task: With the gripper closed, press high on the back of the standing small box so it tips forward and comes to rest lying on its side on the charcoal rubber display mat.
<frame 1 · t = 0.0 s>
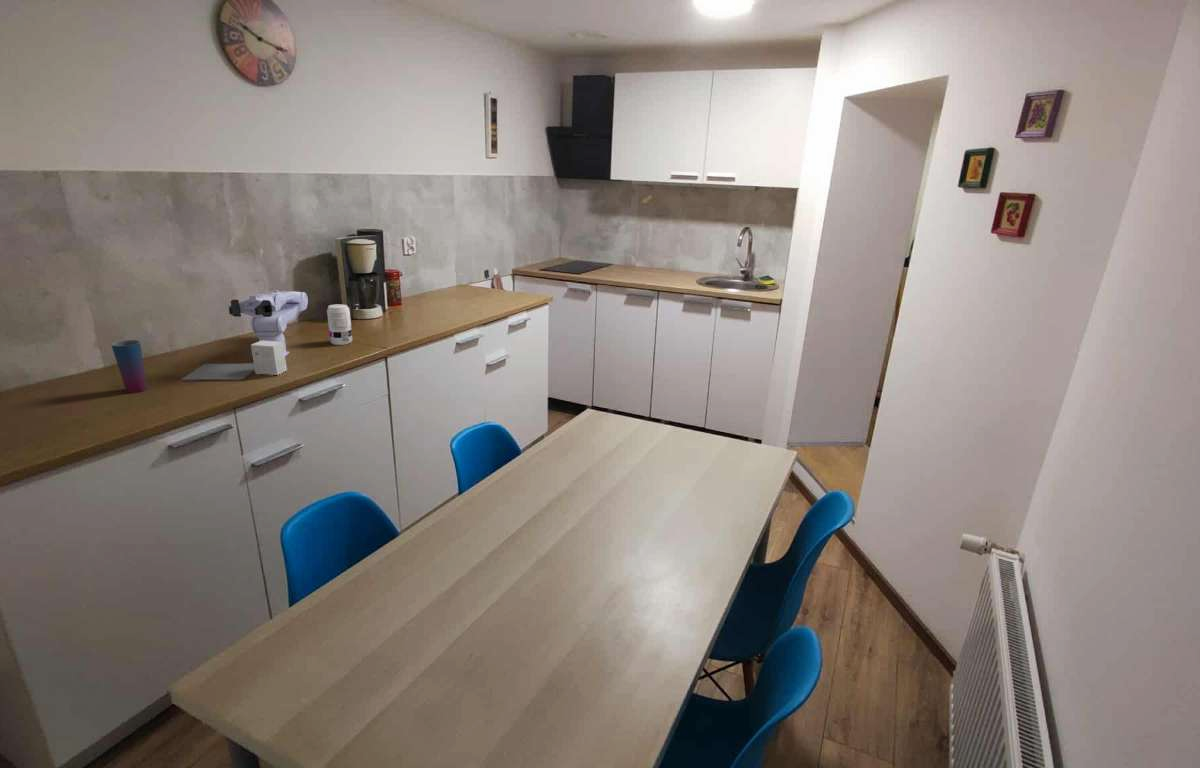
hand: (243, 311, 191), 22 cm above the table, tool horizontal, fingers open, 7 cm apart
display mat: (223, 372, 198), on the table
small box: (271, 373, 201), on the table
cup: (136, 390, 180), on the table
supplement can: (341, 343, 237), on the table
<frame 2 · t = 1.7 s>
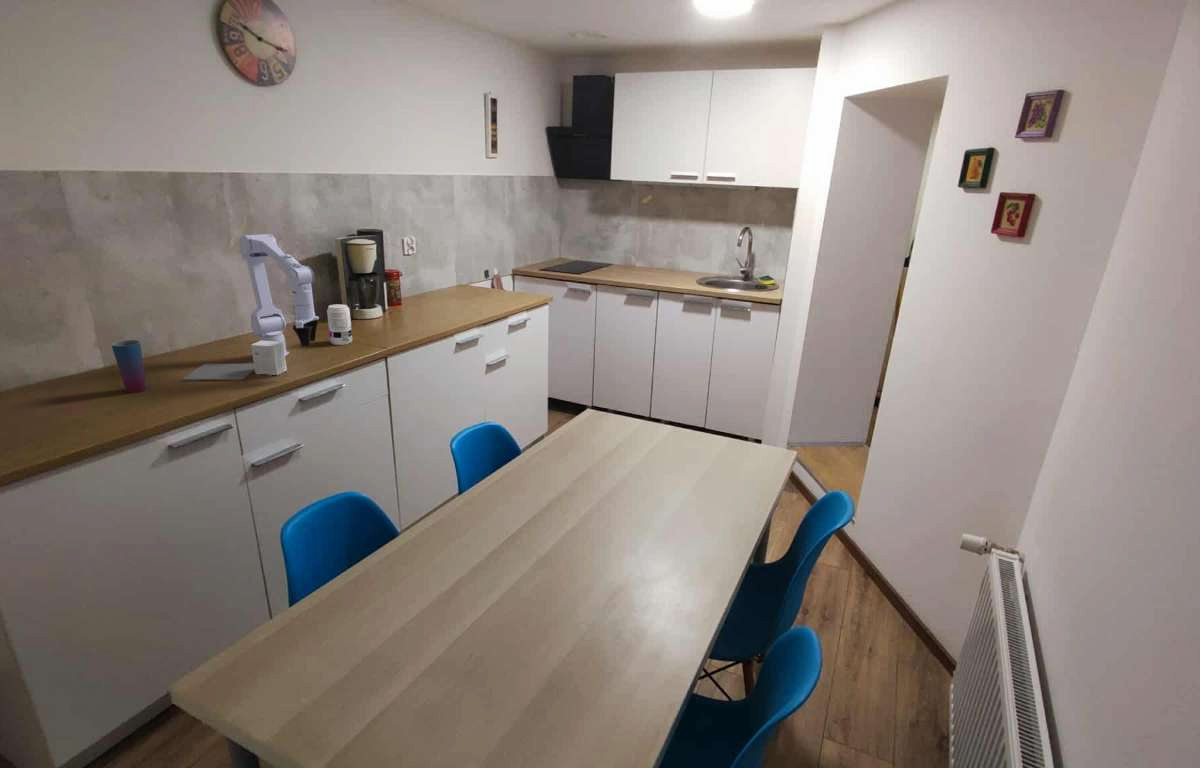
hand: (308, 343, 199), 10 cm above the table, tool pointing down, fingers open, 6 cm apart
nothing on the table moved.
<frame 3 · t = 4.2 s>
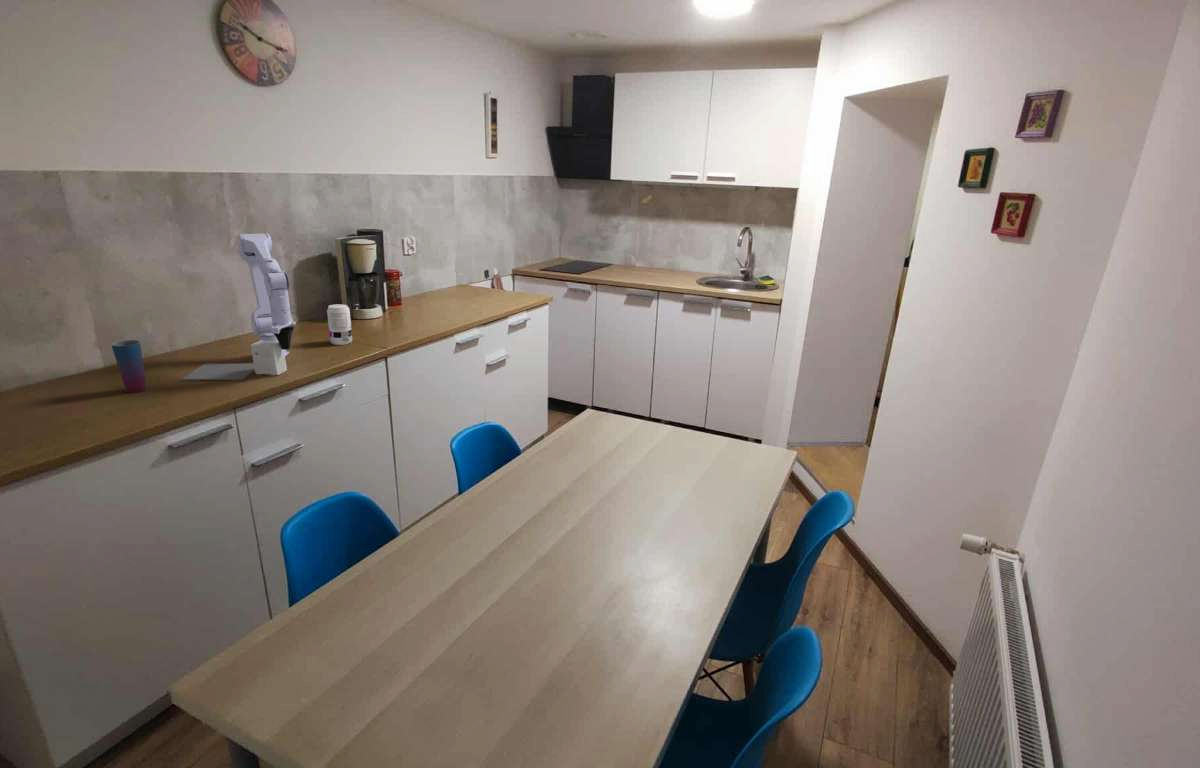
hand: (285, 348, 199), 8 cm above the table, tool pointing down, fingers closed
small box: (271, 373, 201), on the table, touching gripper
everything else where it was.
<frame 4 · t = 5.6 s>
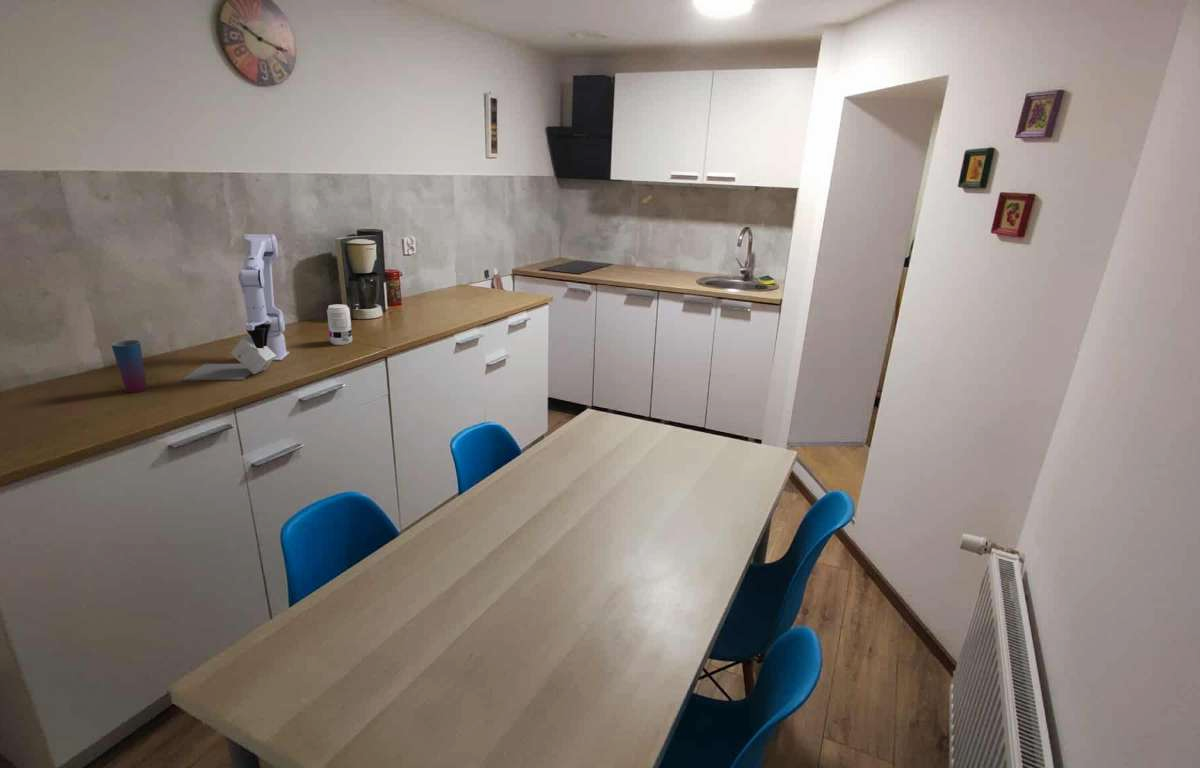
hand: (261, 347, 197), 9 cm above the table, tool pointing down, fingers closed
small box: (266, 366, 199), point 2 cm above the table, touching gripper
everything else where it was.
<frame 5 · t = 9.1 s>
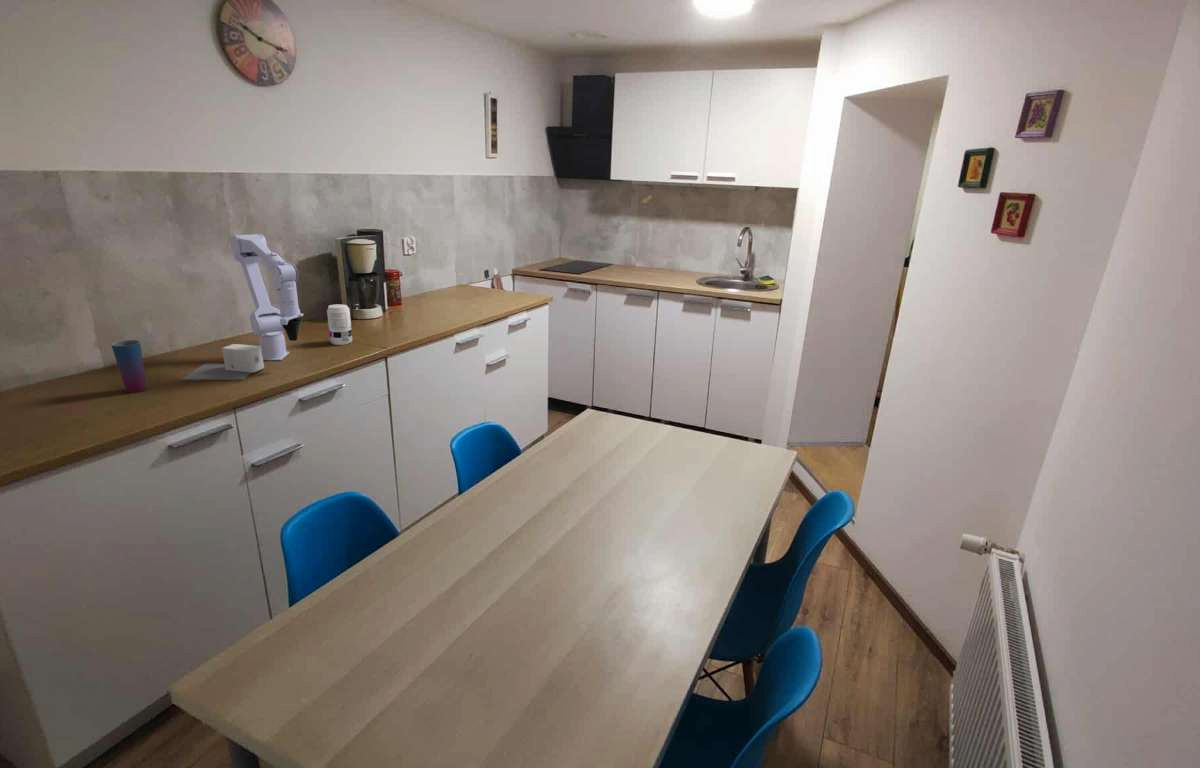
hand: (293, 340, 202), 10 cm above the table, tool pointing down, fingers closed
small box: (258, 359, 199), point 5 cm above the table, touching display mat
everything else where it was.
at the end: small box tilted 90°; small box touching display mat; small box inside the target area (6.8 cm from its centre), point 4.5 cm above the table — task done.
